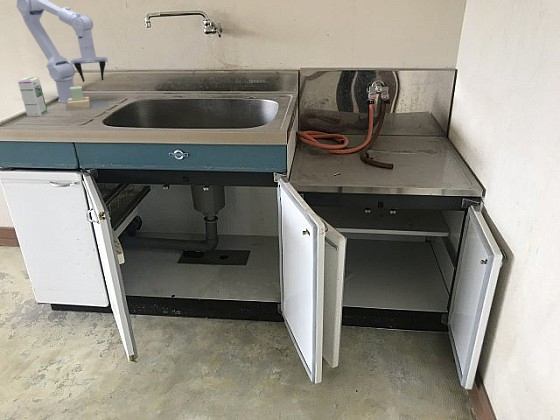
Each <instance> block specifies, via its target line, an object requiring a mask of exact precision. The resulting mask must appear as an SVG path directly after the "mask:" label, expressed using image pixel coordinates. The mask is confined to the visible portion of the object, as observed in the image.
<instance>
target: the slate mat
mask: <svg viewBox="0 0 560 420" xmlns="http://www.w3.org/2000/svg"><path fill="white" fill-rule="evenodd" d="M89 101H90V108H86V109H85V110H92V109H101V108H109V107H110V104H109V100H108V99H99V100H89ZM81 110H82V111H83V110H84V109H76V110H75V111H81ZM70 111H71V112H72V111H74V110H69V105H68V102H67V103H65V112H70Z"/></svg>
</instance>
